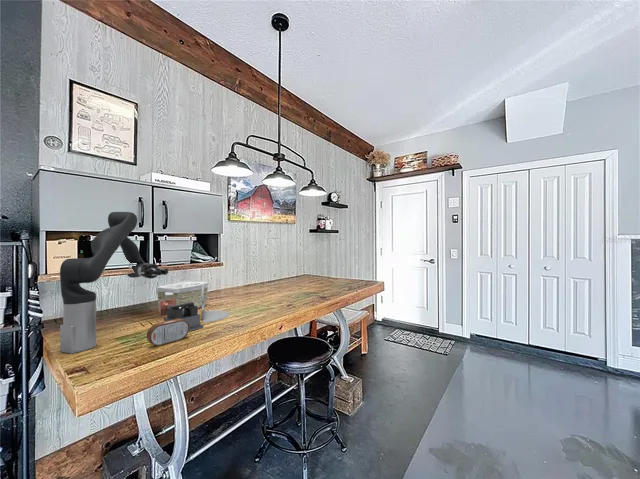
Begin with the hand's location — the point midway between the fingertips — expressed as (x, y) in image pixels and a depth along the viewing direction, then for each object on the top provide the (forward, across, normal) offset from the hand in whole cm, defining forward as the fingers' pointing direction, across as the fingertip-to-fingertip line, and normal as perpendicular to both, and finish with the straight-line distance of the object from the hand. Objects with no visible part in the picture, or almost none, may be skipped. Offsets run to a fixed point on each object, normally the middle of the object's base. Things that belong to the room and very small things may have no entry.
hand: (163, 272), depth 135 cm
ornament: (+10, +22, +24) cm, 34 cm away
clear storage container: (-18, +19, +24) cm, 35 cm away
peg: (+12, 0, +19) cm, 23 cm away
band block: (+19, 0, +24) cm, 31 cm away
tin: (+31, -11, +24) cm, 40 cm away
